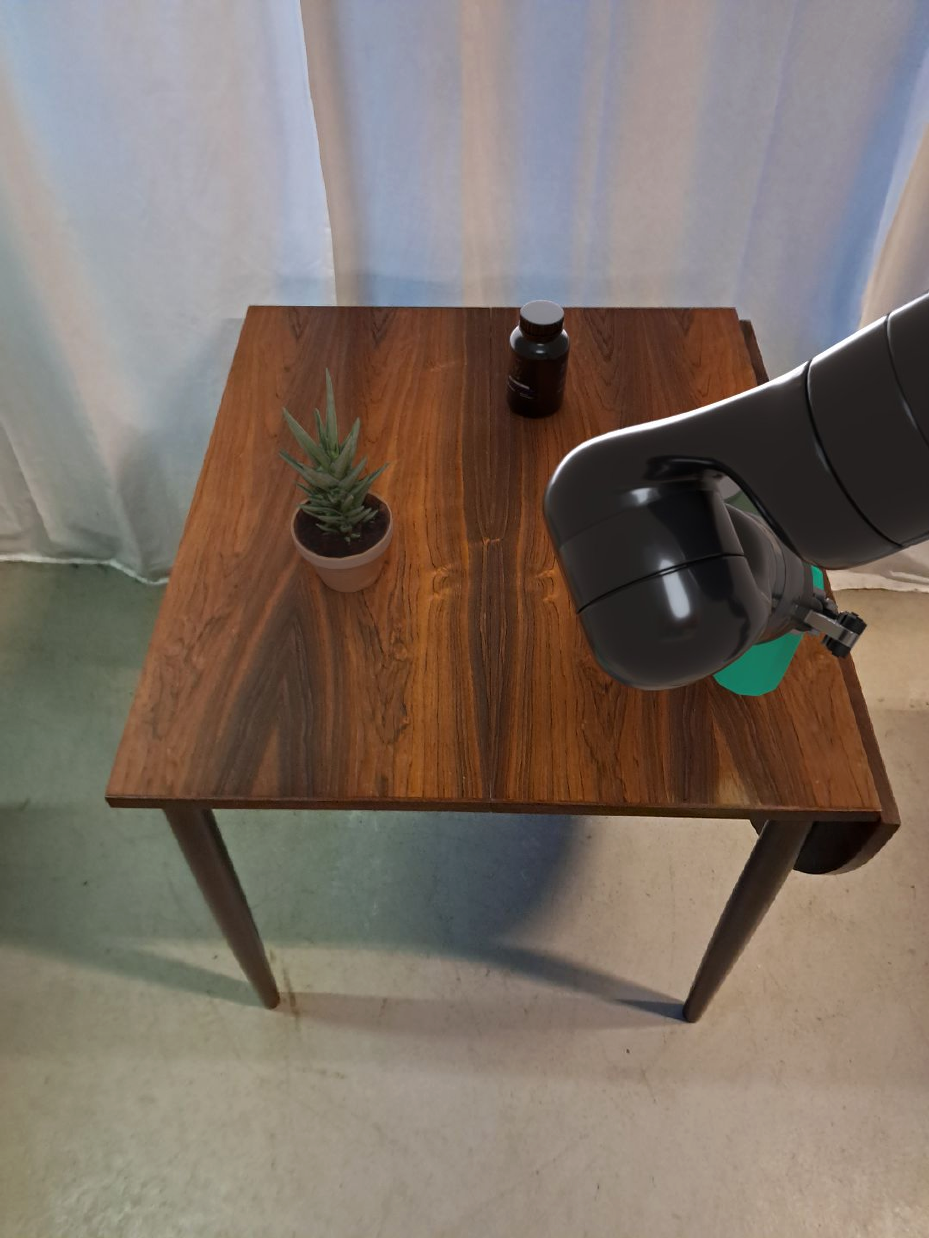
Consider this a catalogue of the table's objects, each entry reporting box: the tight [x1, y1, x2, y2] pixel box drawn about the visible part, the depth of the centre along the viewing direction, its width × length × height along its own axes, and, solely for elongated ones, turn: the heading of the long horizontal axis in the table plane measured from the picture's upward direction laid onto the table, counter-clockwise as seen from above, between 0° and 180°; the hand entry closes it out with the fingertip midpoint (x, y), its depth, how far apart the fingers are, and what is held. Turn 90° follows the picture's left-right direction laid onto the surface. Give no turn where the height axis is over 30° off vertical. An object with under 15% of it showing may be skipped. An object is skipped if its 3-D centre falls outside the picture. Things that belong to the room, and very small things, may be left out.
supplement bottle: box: [505, 299, 571, 419], centre depth 100 cm, size 7×7×12 cm
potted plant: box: [277, 366, 395, 593], centre depth 79 cm, size 10×10×25 cm
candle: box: [712, 565, 825, 697], centre depth 65 cm, size 6×6×12 cm
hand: (780, 592), depth 65 cm, fingers closed on candle, 6 cm apart
